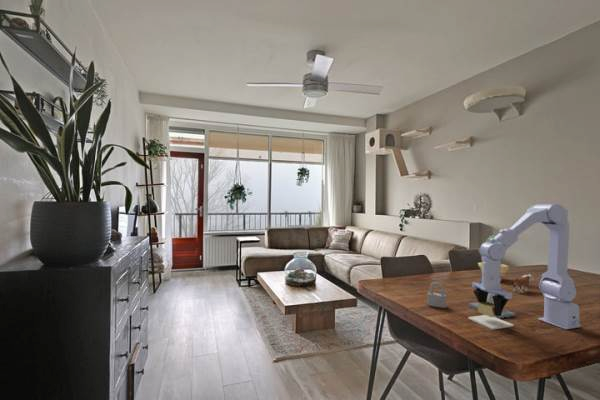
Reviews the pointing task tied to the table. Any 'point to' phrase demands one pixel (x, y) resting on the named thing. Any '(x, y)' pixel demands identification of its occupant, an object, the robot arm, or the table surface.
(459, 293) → the table surface
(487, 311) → the sleeve
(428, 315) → the table surface
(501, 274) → the potted cactus
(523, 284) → the bull figurine
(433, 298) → the padlock
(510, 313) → the vise
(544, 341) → the table surface
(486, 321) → the mat
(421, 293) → the table surface
